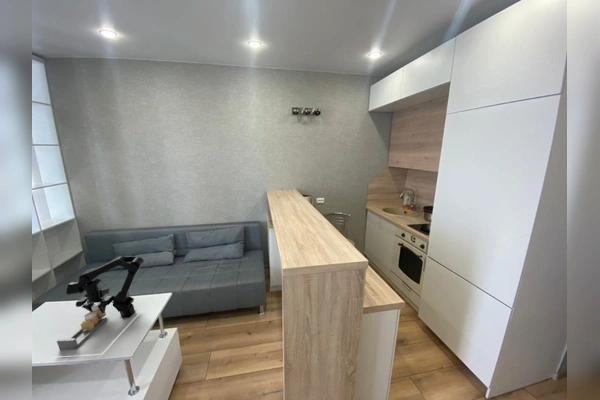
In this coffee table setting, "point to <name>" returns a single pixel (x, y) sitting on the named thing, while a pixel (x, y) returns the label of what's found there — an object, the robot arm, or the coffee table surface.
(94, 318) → the jar
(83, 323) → the yellow lumpy piece
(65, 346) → the tray
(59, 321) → the coffee table surface
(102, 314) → the jar
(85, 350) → the coffee table surface
